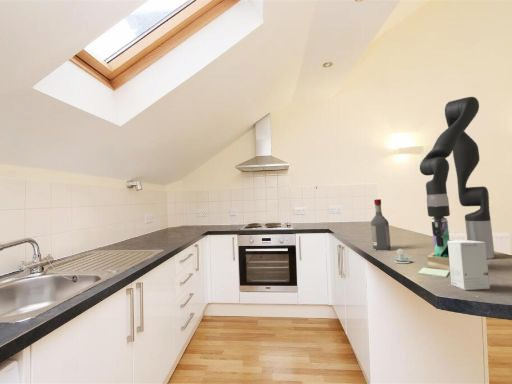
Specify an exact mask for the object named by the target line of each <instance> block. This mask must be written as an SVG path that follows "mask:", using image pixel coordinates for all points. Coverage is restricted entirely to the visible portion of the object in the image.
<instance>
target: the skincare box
mask: <svg viewBox="0 0 512 384" xmlns="http://www.w3.org/2000/svg"><path fill="white" fill-rule="evenodd" d="M447 242H448V252H449V263H450V272H449V274H450V283H451V285H452V286H454V287H457V288H458V289H461V290H463V291H474V290H490V289H491V287H490V276H489V269H488V268H489V266H488V260H487V255H486V245H485V242H480V241H472V240H449V241H447Z"/></svg>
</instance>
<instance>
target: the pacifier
mask: <svg viewBox="0 0 512 384" xmlns="http://www.w3.org/2000/svg"><path fill="white" fill-rule="evenodd" d="M396 254H397V256H398V257H394V256H392V259H393V260H394V261H393V263H395V264H404V265H405V264H410V261H409V260H410V259H411V257H410V256H409V257H404V256H405V251H404V249H402V248H398V249H397V250H396Z"/></svg>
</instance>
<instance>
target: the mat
mask: <svg viewBox="0 0 512 384" xmlns="http://www.w3.org/2000/svg"><path fill="white" fill-rule="evenodd" d="M417 274H419V275H428V276H433V277H443V278H447V277H448V275H449V274H450V271H449V270H440V269H431V268H428V267H422V268H421V269H419V271H418V272H417Z"/></svg>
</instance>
